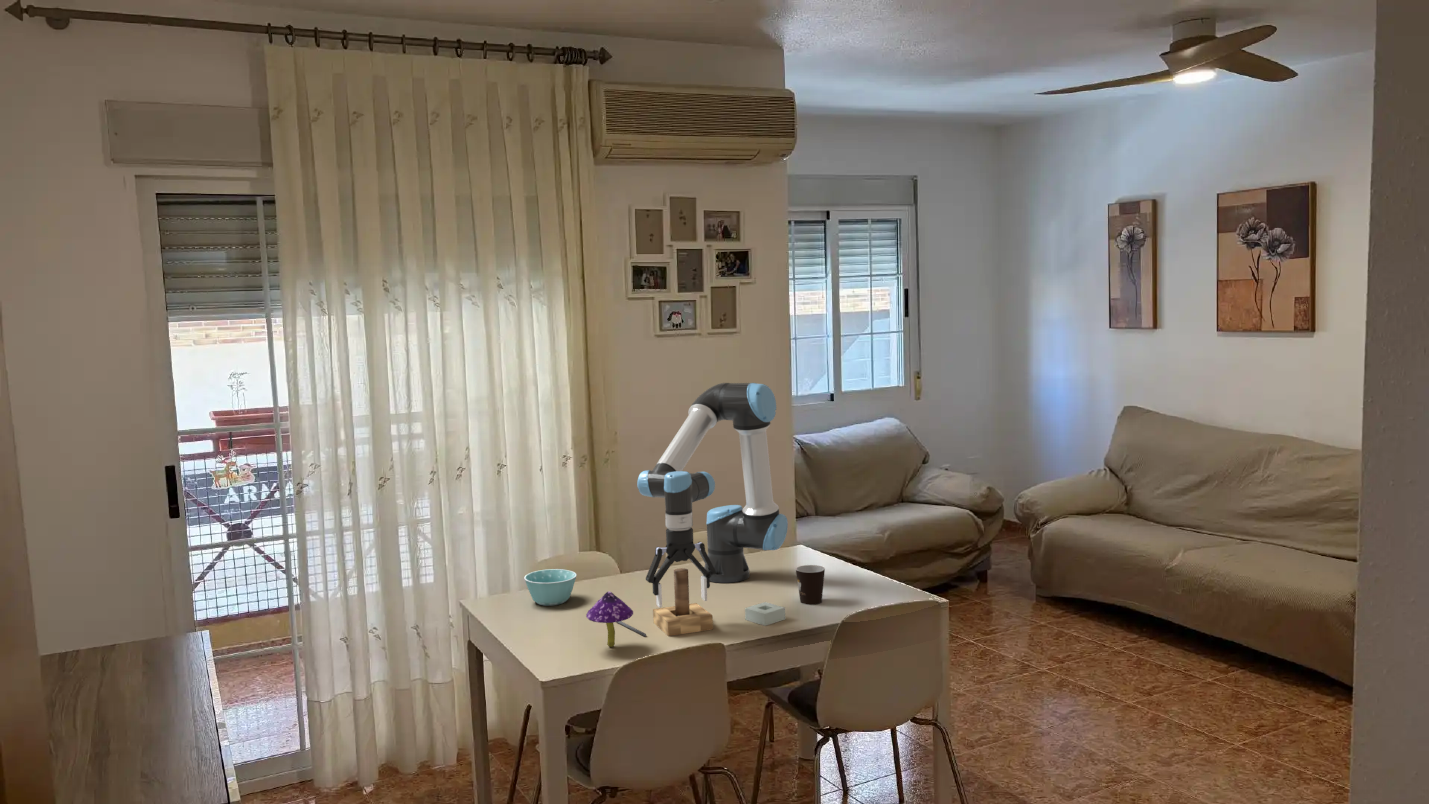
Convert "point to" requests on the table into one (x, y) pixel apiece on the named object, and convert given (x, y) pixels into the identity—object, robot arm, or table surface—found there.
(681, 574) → the brown wooden bar
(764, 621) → the grey square socket block
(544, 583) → the bowl
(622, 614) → the decorative mushroom
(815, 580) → the coffee mug
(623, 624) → the dark grey rod
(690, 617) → the wooden square socket block
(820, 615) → the table surface
